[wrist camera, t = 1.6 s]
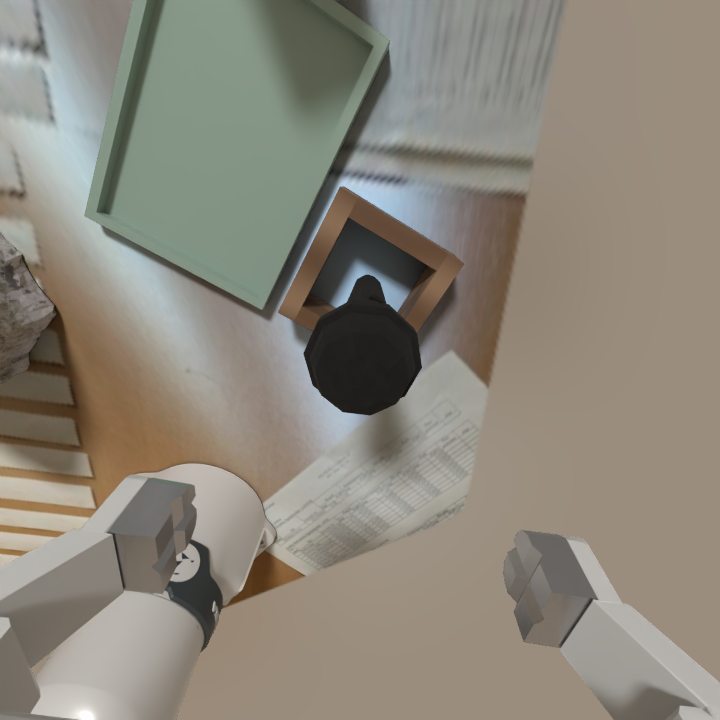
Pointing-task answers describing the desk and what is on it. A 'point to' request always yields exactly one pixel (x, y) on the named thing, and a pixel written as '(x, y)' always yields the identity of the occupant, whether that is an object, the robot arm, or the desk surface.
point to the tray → (229, 130)
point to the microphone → (363, 352)
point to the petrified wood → (19, 312)
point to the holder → (352, 206)
